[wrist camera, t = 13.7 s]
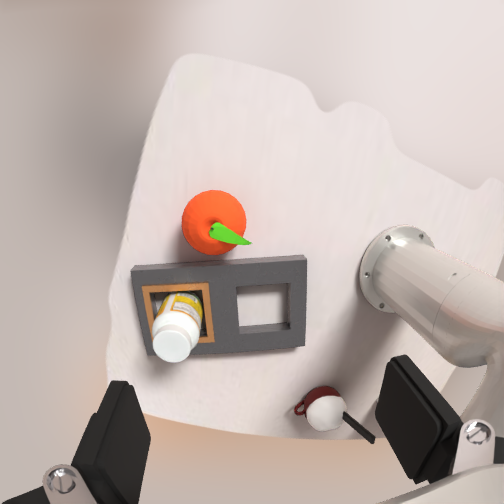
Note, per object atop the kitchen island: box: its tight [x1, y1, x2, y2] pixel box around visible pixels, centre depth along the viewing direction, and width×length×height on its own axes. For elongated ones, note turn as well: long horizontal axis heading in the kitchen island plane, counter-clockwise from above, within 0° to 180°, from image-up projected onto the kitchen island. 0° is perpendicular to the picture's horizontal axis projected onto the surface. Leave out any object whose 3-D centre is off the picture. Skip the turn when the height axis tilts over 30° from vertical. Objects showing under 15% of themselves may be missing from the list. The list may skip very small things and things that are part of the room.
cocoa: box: [294, 386, 375, 444], centre depth 40 cm, size 10×6×12 cm, turn 74°
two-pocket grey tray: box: [131, 255, 307, 355], centre depth 38 cm, size 21×12×2 cm, turn 93°
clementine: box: [182, 190, 251, 255], centre depth 33 cm, size 8×7×7 cm
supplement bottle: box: [152, 291, 203, 363], centre depth 35 cm, size 5×5×10 cm
